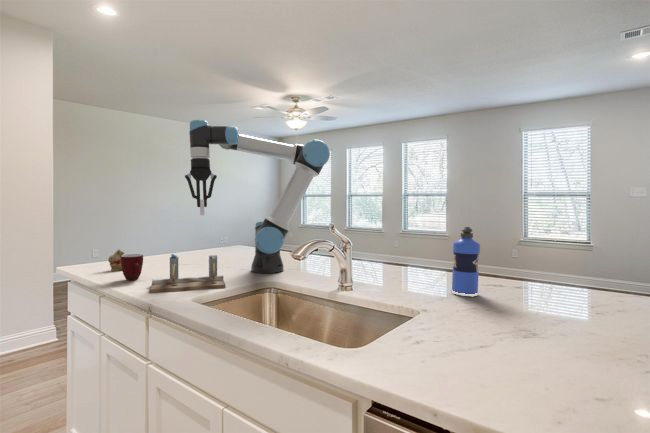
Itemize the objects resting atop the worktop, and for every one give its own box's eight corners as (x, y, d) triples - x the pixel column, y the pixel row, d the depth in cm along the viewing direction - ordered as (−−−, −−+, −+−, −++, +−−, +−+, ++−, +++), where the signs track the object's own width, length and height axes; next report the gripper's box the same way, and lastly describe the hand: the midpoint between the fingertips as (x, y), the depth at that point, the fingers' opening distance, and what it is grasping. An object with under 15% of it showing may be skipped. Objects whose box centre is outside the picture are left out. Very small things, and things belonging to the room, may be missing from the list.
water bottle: (478, 292, 137) (481, 226, 136) (477, 298, 129) (480, 228, 128) (452, 289, 141) (454, 225, 140) (450, 295, 133) (452, 227, 131)
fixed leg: (216, 274, 147) (216, 255, 147) (218, 278, 140) (218, 258, 139) (208, 275, 146) (208, 255, 146) (209, 279, 139) (210, 258, 138)
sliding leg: (178, 276, 142) (178, 253, 141) (177, 281, 135) (177, 256, 134) (170, 277, 141) (170, 253, 140) (169, 281, 134) (169, 257, 133)
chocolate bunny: (113, 269, 169) (113, 247, 169) (130, 268, 170) (130, 247, 170) (107, 271, 164) (107, 249, 163) (125, 271, 165) (125, 249, 164)
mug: (150, 280, 148) (150, 256, 147) (129, 283, 141) (129, 258, 141) (137, 276, 154) (137, 253, 153) (117, 279, 148) (117, 255, 147)
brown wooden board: (222, 280, 149) (222, 274, 149) (225, 287, 138) (225, 280, 138) (153, 285, 140) (153, 278, 140) (150, 292, 129) (150, 285, 129)
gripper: (215, 159, 157) (217, 214, 158) (183, 159, 152) (185, 215, 153) (217, 157, 150) (219, 214, 151) (183, 157, 145) (186, 216, 146)
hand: (202, 214), depth 152 cm, fingers closed
